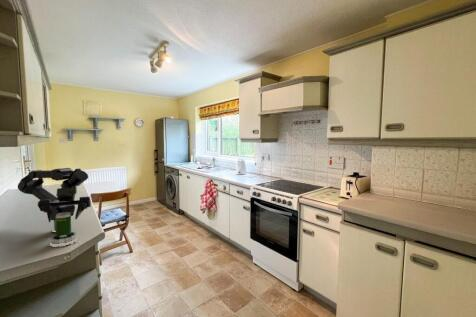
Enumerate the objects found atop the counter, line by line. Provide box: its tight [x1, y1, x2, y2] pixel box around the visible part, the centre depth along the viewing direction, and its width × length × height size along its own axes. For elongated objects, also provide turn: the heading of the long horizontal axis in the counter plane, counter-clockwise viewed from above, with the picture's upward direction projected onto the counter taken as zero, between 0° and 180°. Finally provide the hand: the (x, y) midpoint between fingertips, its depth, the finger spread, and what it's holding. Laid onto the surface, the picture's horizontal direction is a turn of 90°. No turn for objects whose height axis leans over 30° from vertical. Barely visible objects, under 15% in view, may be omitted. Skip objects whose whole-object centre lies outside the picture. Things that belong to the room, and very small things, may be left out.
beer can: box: [55, 212, 72, 239], centre depth 95 cm, size 5×5×12 cm
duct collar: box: [50, 231, 77, 244], centre depth 95 cm, size 10×10×3 cm
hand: (62, 220), depth 96 cm, fingers open, 9 cm apart
